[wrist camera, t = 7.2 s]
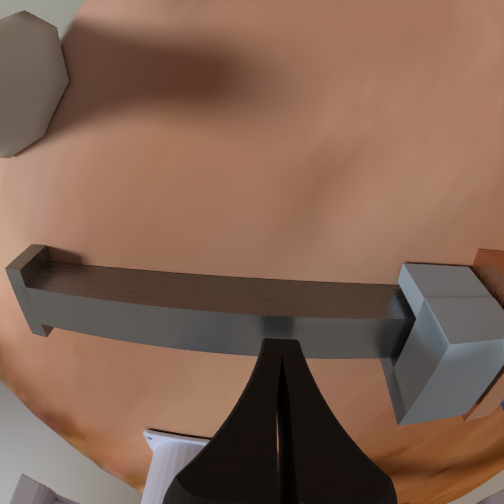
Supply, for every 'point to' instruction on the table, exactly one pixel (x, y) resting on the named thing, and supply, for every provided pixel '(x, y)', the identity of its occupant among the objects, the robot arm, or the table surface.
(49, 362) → the table surface
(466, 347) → the block
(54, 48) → the flask
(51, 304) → the rail
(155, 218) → the table surface
